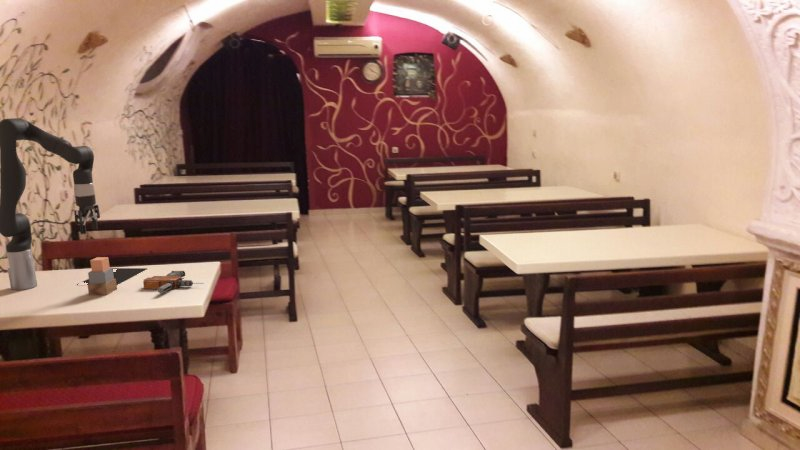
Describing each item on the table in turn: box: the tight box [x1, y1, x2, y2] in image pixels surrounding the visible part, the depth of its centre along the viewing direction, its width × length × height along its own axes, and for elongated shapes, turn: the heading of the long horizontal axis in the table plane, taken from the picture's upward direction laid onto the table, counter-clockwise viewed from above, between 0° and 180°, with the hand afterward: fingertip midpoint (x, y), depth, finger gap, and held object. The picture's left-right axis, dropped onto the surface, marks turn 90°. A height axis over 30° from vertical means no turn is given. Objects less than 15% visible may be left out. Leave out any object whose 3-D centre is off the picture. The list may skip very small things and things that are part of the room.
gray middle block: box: [87, 267, 114, 284], centre depth 251 cm, size 7×7×5 cm
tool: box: [143, 270, 205, 294], centre depth 259 cm, size 4×27×30 cm
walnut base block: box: [87, 279, 118, 296], centre depth 252 cm, size 8×8×5 cm
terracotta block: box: [89, 256, 111, 272], centre depth 251 cm, size 5×5×5 cm
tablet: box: [77, 267, 148, 286], centre depth 276 cm, size 27×1×20 cm
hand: (89, 231), depth 251 cm, fingers open, 8 cm apart
